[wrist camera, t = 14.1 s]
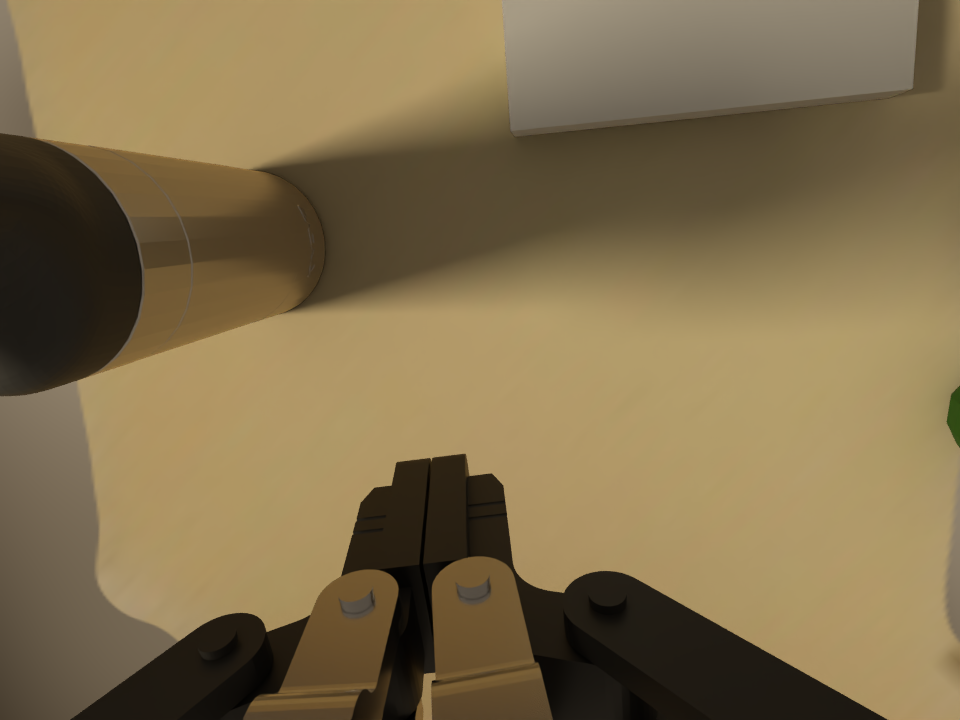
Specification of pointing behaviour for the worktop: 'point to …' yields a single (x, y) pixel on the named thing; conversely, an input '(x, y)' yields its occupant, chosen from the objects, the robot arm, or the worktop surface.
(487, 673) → the robot arm
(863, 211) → the worktop surface
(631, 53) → the board
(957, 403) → the bell pepper
